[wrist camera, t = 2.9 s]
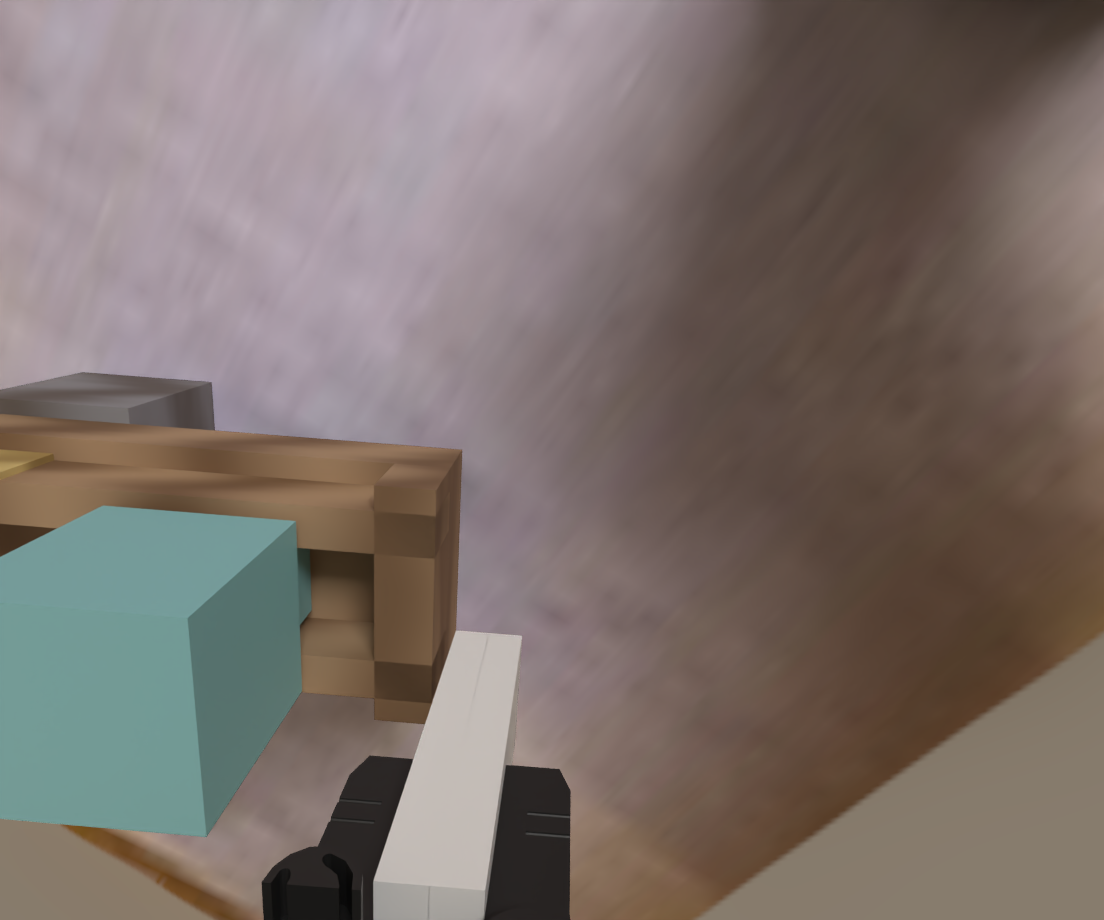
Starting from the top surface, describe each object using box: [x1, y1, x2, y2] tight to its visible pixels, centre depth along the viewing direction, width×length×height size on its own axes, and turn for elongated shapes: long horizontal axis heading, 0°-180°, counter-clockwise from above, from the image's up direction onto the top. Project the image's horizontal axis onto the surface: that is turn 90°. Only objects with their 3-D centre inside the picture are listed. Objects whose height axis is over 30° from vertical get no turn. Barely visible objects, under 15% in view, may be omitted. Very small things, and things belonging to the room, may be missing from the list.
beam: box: [0, 372, 462, 724], centre depth 21 cm, size 26×8×13 cm, turn 86°
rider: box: [0, 506, 312, 837], centre depth 17 cm, size 5×5×7 cm
